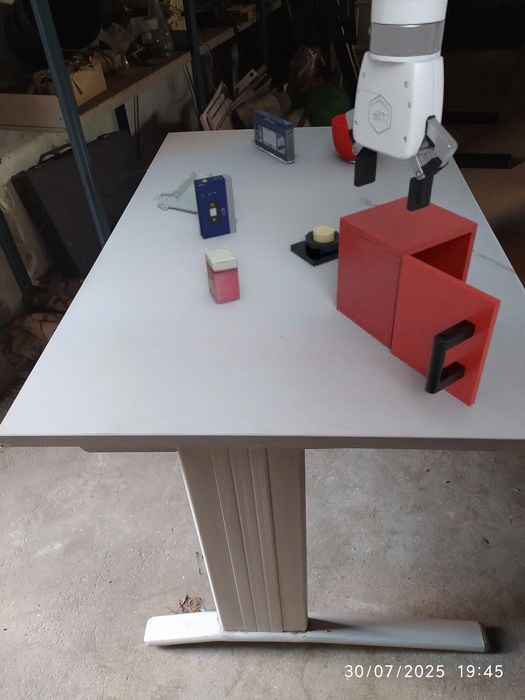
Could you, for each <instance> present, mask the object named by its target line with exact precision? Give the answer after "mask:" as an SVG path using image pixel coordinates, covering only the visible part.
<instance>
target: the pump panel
mask: <svg viewBox="0 0 525 700" xmlns="http://www.w3.org/2000/svg"><path fill="white" fill-rule="evenodd" d="M290 251H291V252H292V253H293V254H295V255H296V256H297V257H299V258H301V259H302V260H304V261H305V262H307V263H308V264H309V265H311V266H312V267H317V266H320V265H322V264H325V263H328V262H331V261H334V260H338V252H339V231H338V230H336V229H334V240H333V241H331V242H325V243H321V242H316V241H314V240H313V230H310V231H309V232H307V233H306V234H305V235H304V240H301V241H298V242H295V243H292V244H290Z"/></svg>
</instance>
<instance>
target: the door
mask: <svg viewBox="0 0 525 700" xmlns="http://www.w3.org/2000/svg"><path fill="white" fill-rule="evenodd" d="M501 302H502V300H500V299H499V298H496V297H494V296H492V295H491V294H489V293H486V292H484V291H482V290H480V289H479V288H477V287H474V286H472V285H471V284H469V283H467V282H466V283H464V282H462V281H460V280H458V279H456V278H454V277H452V276H450V275H448V274H446V273H444V272H442V271H440V270H438V269H436V268H434V267H432V266H430V265H428V264H426V263H424V262H422V261H420V260H418V259H416V258H414V257H412V256H410V255H408V254H407V255H405V256H403V257H402V265H401V273H400V281H399V289H398V298H397V306H396V314H395V323H394V331H393V339H392V347H391V349H390V354H392V355H393V356H395V357H397V358H398V359H399V360H401V361H402V362H403V363H405V364H407V365H408V366H410V367H411V368H413V369H414V370H416V371H417V372H418V373H420V374H421V375H423V376H424V377H425V378H426V380H425V385H424V391H425V392H426V393H427V394H429V395H436V394H437V393H439V392H441V391H442V390H444V391H446V392H448V393H449V394H450V395H452V396H454V397H455V398H456V399H458V400H459V401H461V402H462V403H464V404H466V405H467V406H468V407H471V406H472V405H474V404H475V402H476V398H477V394H478V390H479V387H480V384H481V383H480V382H481V379H482V375H483V371H484V369H485V363H486V360H487V356H488V352H489V348H490V345H491V340H492V337H493V333H494V330H495V325H496V322H497V318H498V314H499V311H500V306H501Z"/></svg>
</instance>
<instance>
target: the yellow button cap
mask: <svg viewBox="0 0 525 700" xmlns="http://www.w3.org/2000/svg"><path fill="white" fill-rule="evenodd" d="M334 230H335V228H334V227H332V226H329V225H318V226H316V227H314V228H313V230H312V231H313V240H314V241H316V242H321V243H325V242H331V241H333V240H334Z"/></svg>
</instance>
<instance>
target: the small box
mask: <svg viewBox="0 0 525 700" xmlns="http://www.w3.org/2000/svg"><path fill="white" fill-rule="evenodd" d="M204 256H205V257H204V259H205V264H206V273H207V282H208V289H209V292H210V294H211V296H212V298H213V300H214V302H215V303H216V304H217V305H219V304H220V305H221V304H223V303H228V302H233V301H235V300H239V299H241V289H240V278H239V277H240V276H239V265H238V258H237V256H236V254H235V253H234V252H233V251H232V249H231V248H230V246H228V245H226V246H222V247H221V246H220V247H216V248H212V249H208V250H204Z"/></svg>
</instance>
